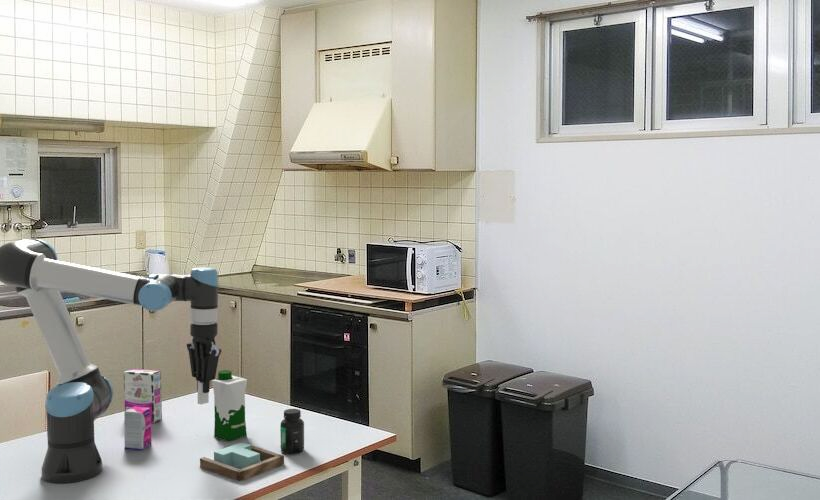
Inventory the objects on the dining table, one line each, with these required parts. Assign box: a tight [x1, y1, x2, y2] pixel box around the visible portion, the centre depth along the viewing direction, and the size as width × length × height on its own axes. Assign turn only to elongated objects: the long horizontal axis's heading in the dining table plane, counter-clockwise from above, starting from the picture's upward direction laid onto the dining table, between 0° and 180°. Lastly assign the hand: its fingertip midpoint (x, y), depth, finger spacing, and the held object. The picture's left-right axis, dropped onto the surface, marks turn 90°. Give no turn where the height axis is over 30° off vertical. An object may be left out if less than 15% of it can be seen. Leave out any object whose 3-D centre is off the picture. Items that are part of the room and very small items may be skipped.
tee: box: [213, 442, 261, 469], centre depth 224 cm, size 10×11×4 cm
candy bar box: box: [123, 368, 163, 424], centre depth 262 cm, size 11×5×16 cm, turn 73°
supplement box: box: [123, 406, 152, 451], centre depth 237 cm, size 6×6×12 cm
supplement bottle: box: [279, 408, 305, 456], centre depth 235 cm, size 7×7×12 cm
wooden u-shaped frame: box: [199, 444, 285, 482], centre depth 223 cm, size 16×16×2 cm
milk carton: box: [211, 369, 248, 442], centre depth 246 cm, size 9×9×20 cm
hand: (203, 402), depth 231 cm, fingers closed
